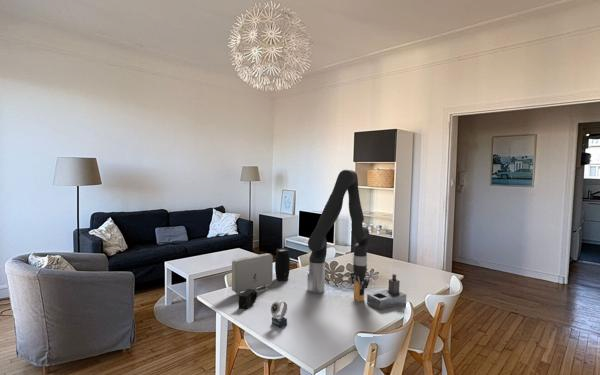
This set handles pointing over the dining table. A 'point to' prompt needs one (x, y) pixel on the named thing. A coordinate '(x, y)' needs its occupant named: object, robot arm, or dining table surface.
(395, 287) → the twin plug
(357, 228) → the robot arm
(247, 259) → the network device
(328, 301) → the dining table surface
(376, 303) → the grey stone block holder
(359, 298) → the orange plug
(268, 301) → the dining table surface
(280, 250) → the portable speaker
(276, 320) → the watch
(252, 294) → the digital camera
